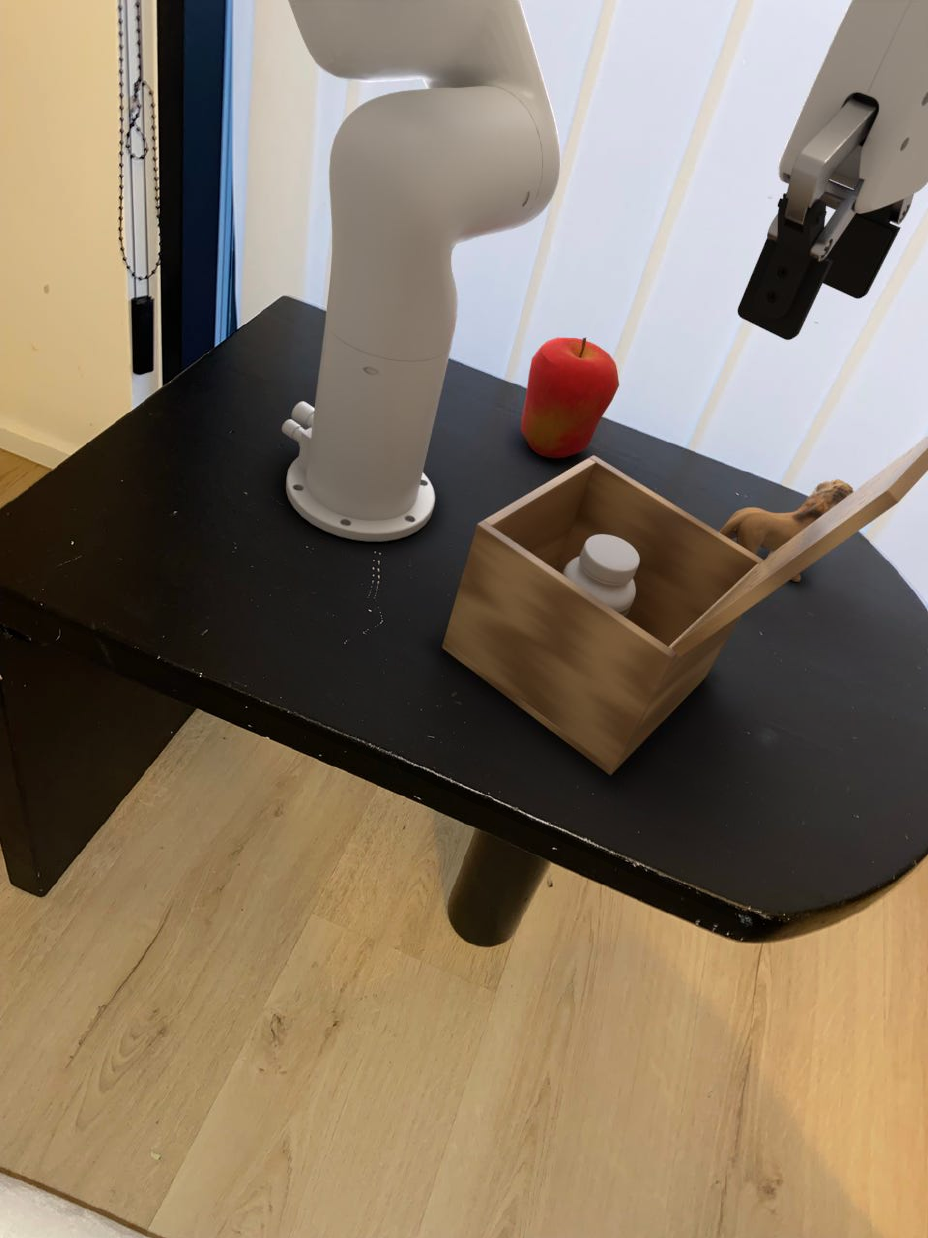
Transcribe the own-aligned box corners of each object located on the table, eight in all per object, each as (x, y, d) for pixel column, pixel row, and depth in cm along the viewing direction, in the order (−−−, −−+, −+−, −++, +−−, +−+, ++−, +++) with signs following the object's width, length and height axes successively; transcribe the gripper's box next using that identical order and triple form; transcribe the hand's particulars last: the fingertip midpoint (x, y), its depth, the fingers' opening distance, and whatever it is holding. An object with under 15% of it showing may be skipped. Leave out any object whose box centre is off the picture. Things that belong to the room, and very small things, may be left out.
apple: (594, 479, 91) (635, 369, 83) (509, 461, 90) (542, 348, 82) (589, 431, 97) (627, 325, 89) (509, 414, 96) (540, 305, 88)
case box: (441, 647, 70) (476, 524, 62) (551, 570, 79) (593, 454, 71) (610, 776, 64) (672, 658, 56) (706, 676, 74) (770, 564, 66)
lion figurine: (793, 541, 90) (838, 463, 84) (830, 577, 87) (879, 500, 81) (674, 561, 84) (714, 479, 78) (709, 602, 81) (753, 519, 75)
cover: (887, 489, 44) (899, 502, 44) (970, 403, 54) (980, 413, 53) (670, 647, 56) (679, 658, 56) (770, 554, 66) (777, 563, 66)
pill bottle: (602, 685, 70) (648, 587, 63) (532, 663, 70) (570, 563, 63) (608, 637, 74) (651, 540, 67) (542, 616, 74) (579, 518, 67)
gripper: (958, -99, 46) (803, 250, 57) (824, -132, 34) (664, 311, 46) (1115, -55, 43) (919, 302, 54) (1026, -76, 32) (803, 381, 43)
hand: (803, 306), depth 50 cm, fingers open, 9 cm apart
